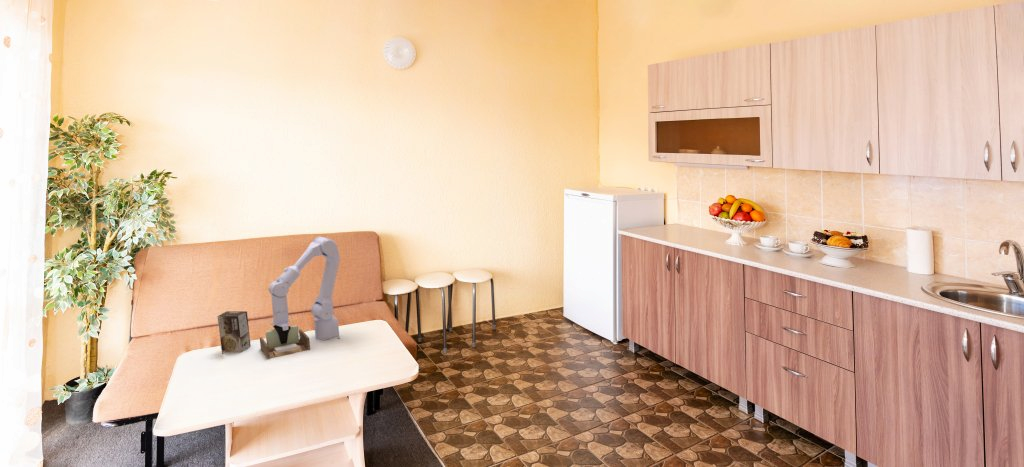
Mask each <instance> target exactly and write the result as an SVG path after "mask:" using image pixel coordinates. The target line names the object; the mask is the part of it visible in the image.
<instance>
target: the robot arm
mask: <svg viewBox="0 0 1024 467" xmlns="http://www.w3.org/2000/svg"><path fill="white" fill-rule="evenodd" d="M338 247H339V245H338V244H337V243H336V241H335V240H334V239H331V238H327V237H324V236H316V237H315V238H314V240H313V241H312V242H310V243H309V245H308V246H307V248H306V249H305V251H304V252H303V253H302V255H301V256H300V257H299V258H298V260H297V261H296V262H295V263H294V264H293V265H290V266H288V267H285V268H284V269H283V272H282V273H281V274H280V276H278V277H276V279H275V280H274V281H272V282H271V283H270V284H269V287H268V289H267V290H268V292H269V294H271V309H272V317H273V321H271V322H270V325H271V326H272V327H273V329H276V331H277V333H278V335H279V339H280V342H281V344H285V343H287V339H288V333H289V331H290V329H291V327H290V326H291V325H289V323H290V318H289V316H290V315H289V306H288V297H287V296H288V293H289V291H290V289H289V288H290V287H291V286H293V284H294V283H295V282H296V280H298V278H299V277H300V276H301V271H302V270H303V268H304V267H306V265H308V263H309V262H311V261H312V260H313V258H314V257H319V256H320V257H321V256H323V257H324V259H325V265H324V269H323V274H322V278H321V279H322V280H321V284H320V289H319V293H318V296H317V297H316V298H315V300H314V303H313V304H312V306H311V309H310V312H311V314H312V315H313V316H314V318H313V323H314V324H313V325H314V326H313V327H314V336H315V339H316V340H319V341H323V340H330V339H333V338H336V339H341V337H340V330H339V327H340V326H339V320H338V317H336V316H334V315H335V314H334V312H335V310H334V302H333V299H332V298H333V292H334V289H335V284H336V279H337V275H338V269H339V265H340V260H341V256H340V253H339V249H338Z"/></svg>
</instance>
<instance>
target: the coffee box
mask: <svg viewBox="0 0 1024 467" xmlns="http://www.w3.org/2000/svg"><path fill="white" fill-rule="evenodd" d="M217 323H218V324H217V325H218V331H219V340H220V348H221V354H222V355H223V354H224V353H243V352H244V351H247V350H248V349H250V348H251V347H252V346H251V345H252V344H251V336H250V328H249V327H250V326H249V317H248V311H243V310H242V311H234V310H233V311H229V310H228V311H227V310H226V311H224V312H223V313H221V314H219V315H218V316H217Z"/></svg>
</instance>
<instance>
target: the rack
mask: <svg viewBox="0 0 1024 467" xmlns="http://www.w3.org/2000/svg"><path fill="white" fill-rule="evenodd" d="M298 332H299V342H298V343H293V344H296V345H297V346H298V345H300V347H301V348H302V351H300V352H295V353H291V354H286V355H282V356H277V357H275V356H274V354H273V351H274V348H276V347H274V348H270V349H269V346H268V345H267V341H266V340H265V339H264V338H263V337H262V336H260V337H259V344H260V345H259V346H260V350H261V352H262V353H263V355H264V356H265V359H266V360H271V359H274V358H279V357H283V356H287V355H293V354H297V353H302V352H305V351H310V350H311V344H310V337H309V336H308V335H307V334H306V333H305V332H304V331H303V330H302V329H301V328H300V329H299V328H298ZM288 345H290V344H288ZM284 346H285V345H284ZM279 347H281V346H279Z"/></svg>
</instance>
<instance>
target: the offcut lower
mask: <svg viewBox="0 0 1024 467" xmlns="http://www.w3.org/2000/svg"><path fill="white" fill-rule="evenodd" d="M300 351H302V348H301V347H300V345H298V349H295V350H290V351H286V352H281V353H276V352H275V351H273V354H274V356H275V358H278V357H277V356H280V357H283V356H282V355H284V356H287V355H286V354H289V355H292V354H291V353H293V354H296V353H295V352H298V353H301V352H300ZM302 352H303V351H302Z"/></svg>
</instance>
